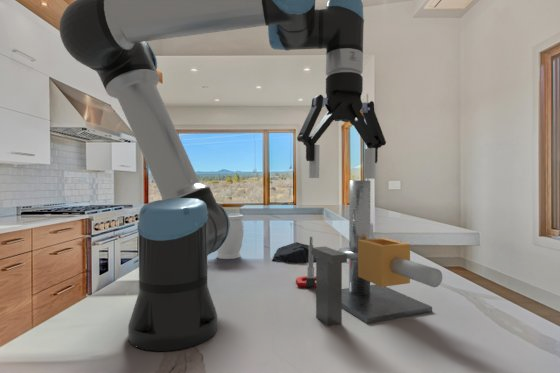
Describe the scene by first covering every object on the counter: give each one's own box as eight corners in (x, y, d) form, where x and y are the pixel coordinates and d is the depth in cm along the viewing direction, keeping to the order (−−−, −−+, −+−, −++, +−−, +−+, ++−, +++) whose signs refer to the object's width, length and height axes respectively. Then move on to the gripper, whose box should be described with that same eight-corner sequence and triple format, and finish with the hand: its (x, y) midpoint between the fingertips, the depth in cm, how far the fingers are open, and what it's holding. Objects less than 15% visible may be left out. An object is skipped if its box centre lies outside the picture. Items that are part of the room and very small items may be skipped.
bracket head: (419, 303, 59) (419, 256, 58) (357, 276, 75) (358, 239, 75) (450, 298, 61) (450, 253, 61) (384, 273, 78) (384, 237, 78)
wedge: (332, 330, 62) (332, 255, 62) (312, 314, 70) (312, 247, 69) (346, 327, 63) (346, 254, 63) (325, 312, 71) (325, 246, 70)
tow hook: (297, 279, 96) (293, 288, 87) (297, 233, 96) (294, 236, 87) (327, 281, 95) (327, 289, 85) (328, 233, 95) (327, 237, 86)
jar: (249, 256, 124) (249, 214, 123) (230, 261, 115) (230, 216, 115) (226, 252, 129) (226, 212, 129) (207, 258, 121) (207, 215, 120)
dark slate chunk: (314, 251, 135) (314, 239, 135) (317, 264, 113) (317, 250, 113) (275, 250, 136) (275, 238, 136) (270, 263, 114) (270, 249, 114)
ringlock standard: (367, 323, 65) (367, 180, 64) (319, 293, 83) (319, 180, 82) (432, 311, 71) (432, 180, 70) (374, 285, 88) (374, 180, 88)
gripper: (298, 61, 63) (296, 177, 63) (403, 78, 73) (402, 178, 73) (281, 73, 70) (280, 177, 70) (380, 87, 80) (379, 179, 80)
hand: (342, 178), depth 72 cm, fingers open, 13 cm apart
